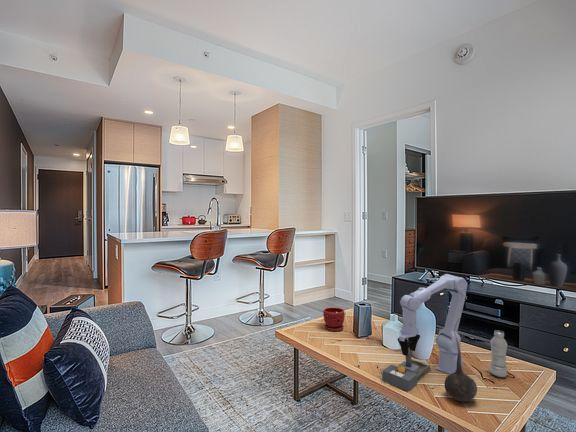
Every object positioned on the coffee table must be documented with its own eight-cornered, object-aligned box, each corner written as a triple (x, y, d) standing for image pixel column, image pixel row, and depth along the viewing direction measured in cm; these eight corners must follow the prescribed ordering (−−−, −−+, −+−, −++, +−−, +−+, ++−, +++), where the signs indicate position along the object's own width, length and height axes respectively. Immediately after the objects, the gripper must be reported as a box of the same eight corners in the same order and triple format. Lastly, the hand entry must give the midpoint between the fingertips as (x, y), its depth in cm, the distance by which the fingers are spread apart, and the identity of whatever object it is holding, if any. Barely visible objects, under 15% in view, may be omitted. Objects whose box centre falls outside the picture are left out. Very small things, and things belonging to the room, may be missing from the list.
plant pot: (346, 327, 207) (346, 308, 207) (341, 334, 195) (341, 314, 195) (326, 323, 212) (327, 305, 212) (320, 330, 200) (320, 311, 200)
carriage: (419, 373, 146) (419, 355, 146) (413, 377, 141) (413, 359, 141) (404, 367, 151) (404, 350, 150) (397, 372, 146) (398, 354, 146)
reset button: (406, 375, 141) (406, 367, 141) (402, 378, 139) (403, 369, 139) (399, 373, 143) (399, 364, 143) (396, 375, 141) (396, 366, 141)
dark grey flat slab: (430, 370, 151) (430, 365, 151) (415, 383, 140) (415, 377, 140) (409, 363, 158) (409, 358, 158) (393, 374, 147) (393, 369, 147)
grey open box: (417, 384, 139) (417, 373, 139) (408, 391, 133) (408, 379, 133) (391, 374, 147) (391, 363, 147) (382, 380, 142) (382, 369, 142)
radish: (477, 393, 133) (478, 320, 132) (476, 410, 121) (478, 330, 120) (446, 385, 139) (447, 315, 138) (442, 401, 127) (444, 324, 126)
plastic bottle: (501, 380, 143) (502, 335, 142) (486, 373, 149) (487, 330, 148) (510, 377, 146) (511, 333, 145) (494, 370, 152) (495, 328, 151)
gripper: (408, 316, 154) (407, 345, 154) (393, 324, 143) (392, 354, 144) (422, 320, 149) (422, 350, 149) (408, 328, 138) (408, 360, 139)
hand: (408, 352), depth 146 cm, fingers open, 7 cm apart
